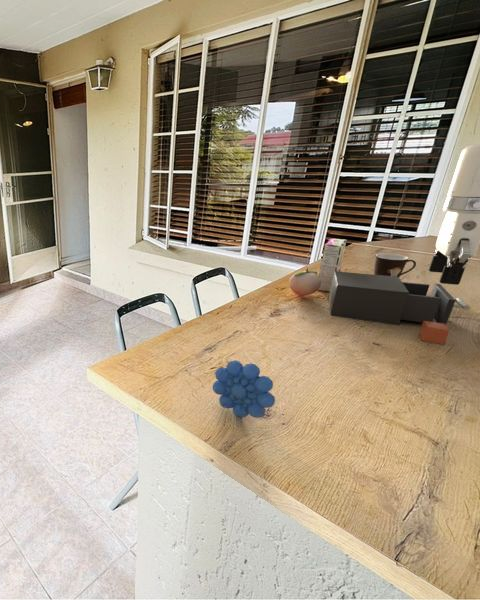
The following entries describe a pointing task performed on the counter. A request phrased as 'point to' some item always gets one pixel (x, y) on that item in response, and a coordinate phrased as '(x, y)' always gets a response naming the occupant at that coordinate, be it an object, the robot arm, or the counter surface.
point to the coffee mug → (391, 265)
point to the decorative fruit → (305, 282)
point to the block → (434, 332)
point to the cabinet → (367, 297)
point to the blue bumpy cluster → (243, 389)
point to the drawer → (429, 303)
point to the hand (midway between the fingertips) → (442, 277)
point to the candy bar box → (331, 262)
